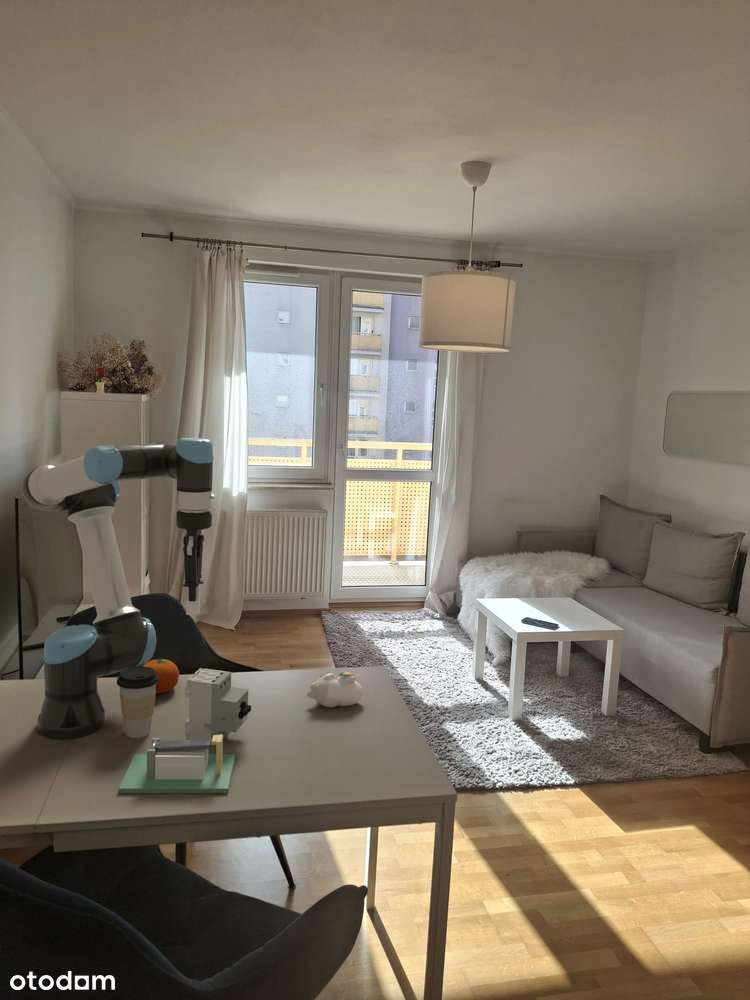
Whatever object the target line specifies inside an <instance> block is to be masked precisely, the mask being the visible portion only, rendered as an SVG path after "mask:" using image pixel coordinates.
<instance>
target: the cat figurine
mask: <svg viewBox="0 0 750 1000" xmlns="http://www.w3.org/2000/svg"><path fill="white" fill-rule="evenodd" d="M338 675H339V677H337V676H336V675H335V674H334V673H332V672H330V673H329V672H326V673H325V674H324V675H321V676H320V677H319V678H318V679H317V680H316V681H315V682H313V683H311V684H309V687H310V690H309V691H307V693H306V696H307V697H309V698H311V699H313V700H315V702H317V703H318V704H319V705H321V706H323V707H325V708H336V707H337V706H338V707H350V706H353V705H355V704H357V703H358V702H359V701H360V700H361V698H362V697H363V695H364V689H363V687H362V685H361V684H360V683H359V682H358V681H357V680H356V676H355V674H354V673H352V672H349V671H345V672H340V673H338Z"/></svg>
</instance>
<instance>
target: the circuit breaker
mask: <svg viewBox="0 0 750 1000" xmlns="http://www.w3.org/2000/svg"><path fill="white" fill-rule="evenodd" d="M184 697H185V698H188V718H187V720H185V722H184V734H185V738H184V740H194V739H212V738H213V735H223V739H224V738H225V737H226V736H227V735H228V734H229V733H237V732H238V731H239V729H240V728H241V727H242V726H243V724H244V723H245V722H246V721H247V720H248V718H249V713H250V712H251V711H252V705H250V704H249V689H248V688H242V687H241V688H240V687H234V686H232V672H231V671H225V670H216V669H211V668H202V667H200V668H199V669H198V670H196V671H195V672H194V674H192V675H190V677H189V678H187V679H186V686H185V696H184ZM211 745H212V743H211Z"/></svg>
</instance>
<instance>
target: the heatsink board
mask: <svg viewBox="0 0 750 1000" xmlns="http://www.w3.org/2000/svg"><path fill="white" fill-rule="evenodd" d="M154 740H156V741H161V737H152V738H151V743H152V742H153V741H154ZM223 744H224V738H223V735H213V738H212V744H211V746H215V747H216V748H215V749H216V750H215V751H216V752H215V753H212V754H211V753H210V754H209V749H190V750H172V751H155V750H156V749H150V748H149V749H148V748H147V750H146V753H135V754H134V755H133V757H132V759H131V762H130V764H129V766H128V768H127V770H126V771H125V772H126V773H125V774H124V776H123V779H122V781H121V783H120V785H119V787H118V794H229V790H230V785H231V780H232V775H233V771H234V765H235V761H236V754H233V753H231V754H227V753H226V754H224V753H223V751H224V750H223V748H224V745H223Z"/></svg>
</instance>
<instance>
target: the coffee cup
mask: <svg viewBox="0 0 750 1000" xmlns="http://www.w3.org/2000/svg"><path fill="white" fill-rule="evenodd" d="M158 680H159V679H158V675H157V674H156V673H155V670H154V669H152V668H150V667H144V666H143V665H139V666H137V667H131V668H127V669H125V670H123V671H120V673H119V675H118V676H117V679H116V685H117V686H118V687H119V699H120V708H121V715H122V719H123V720H122V721H123V728H124V735H125V736H126V738H127V737H128V738H131V739H139V738H144V737H146V736H149V735H150V733H151V730H152V722H153V715H154V712H155V711H154V709H155V700H156V694H157V693H156V690H155V687H156V683H157V682H158Z"/></svg>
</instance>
